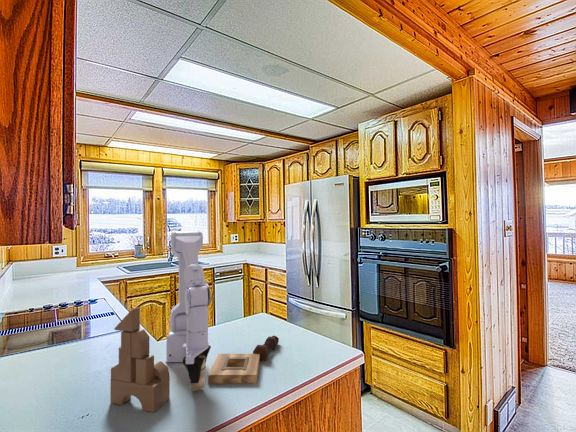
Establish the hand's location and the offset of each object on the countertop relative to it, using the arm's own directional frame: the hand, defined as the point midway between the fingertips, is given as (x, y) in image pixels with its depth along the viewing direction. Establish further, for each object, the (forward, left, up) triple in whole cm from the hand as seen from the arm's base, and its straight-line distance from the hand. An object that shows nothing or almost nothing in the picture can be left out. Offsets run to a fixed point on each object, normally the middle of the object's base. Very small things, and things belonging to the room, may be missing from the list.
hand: (197, 377), depth 87 cm
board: (+9, +11, -4) cm, 15 cm away
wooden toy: (-14, -4, -4) cm, 16 cm away
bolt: (+19, +25, -4) cm, 31 cm away
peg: (0, 0, -3) cm, 2 cm away
